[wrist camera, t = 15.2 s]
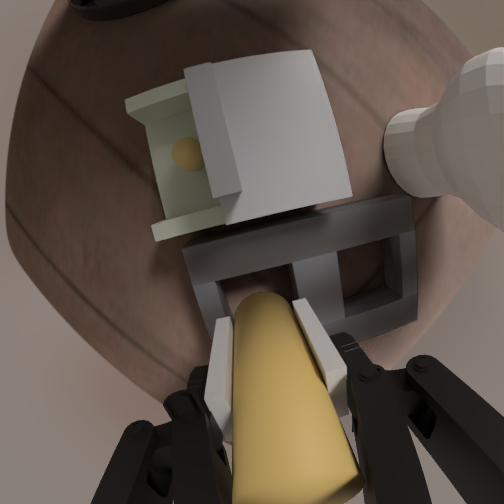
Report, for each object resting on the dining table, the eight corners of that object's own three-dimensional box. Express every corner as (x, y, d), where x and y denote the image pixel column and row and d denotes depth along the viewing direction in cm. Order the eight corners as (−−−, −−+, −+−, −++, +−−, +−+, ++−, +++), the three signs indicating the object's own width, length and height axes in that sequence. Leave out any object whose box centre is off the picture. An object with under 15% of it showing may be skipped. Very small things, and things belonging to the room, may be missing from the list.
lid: (191, 75, 13) (178, 44, 9) (308, 55, 13) (325, 23, 9) (226, 223, 15) (222, 234, 11) (347, 195, 15) (378, 198, 11)
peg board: (189, 240, 19) (181, 249, 16) (390, 194, 19) (410, 195, 16) (225, 355, 22) (224, 376, 19) (399, 305, 21) (417, 319, 19)
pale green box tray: (147, 116, 17) (124, 99, 13) (290, 82, 17) (303, 56, 13) (173, 230, 19) (155, 242, 15) (320, 195, 19) (341, 196, 15)
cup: (401, 237, 20) (552, 298, 5) (343, 119, 18) (492, 37, 3) (469, 183, 19) (592, 199, 5) (425, 83, 17) (544, 37, 2)
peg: (242, 348, 17) (250, 525, 5) (227, 299, 16) (213, 487, 4) (297, 335, 17) (360, 501, 5) (286, 285, 16) (369, 454, 4)
